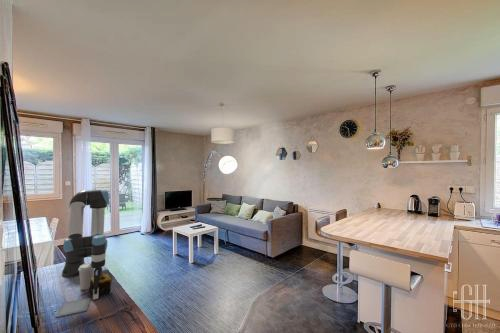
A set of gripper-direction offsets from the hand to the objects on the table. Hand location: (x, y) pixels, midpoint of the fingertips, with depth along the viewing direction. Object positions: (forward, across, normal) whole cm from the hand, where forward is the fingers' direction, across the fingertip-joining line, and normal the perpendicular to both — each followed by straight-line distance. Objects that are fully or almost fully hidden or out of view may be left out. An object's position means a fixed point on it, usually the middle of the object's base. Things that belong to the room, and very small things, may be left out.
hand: (97, 293), depth 146 cm
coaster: (+1, +10, -10) cm, 14 cm away
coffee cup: (+1, -14, -8) cm, 16 cm away
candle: (+1, 0, +1) cm, 1 cm away
